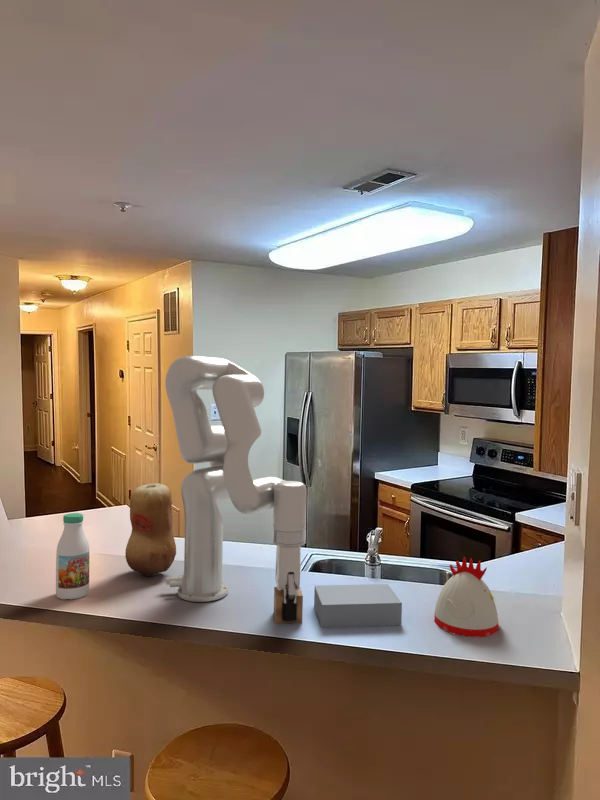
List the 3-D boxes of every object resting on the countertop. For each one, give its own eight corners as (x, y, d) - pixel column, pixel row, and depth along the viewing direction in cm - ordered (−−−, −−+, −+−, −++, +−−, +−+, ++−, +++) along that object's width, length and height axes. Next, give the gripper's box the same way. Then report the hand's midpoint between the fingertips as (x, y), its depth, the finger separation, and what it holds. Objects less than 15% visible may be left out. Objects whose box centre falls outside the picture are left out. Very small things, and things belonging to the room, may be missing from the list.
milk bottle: (48, 597, 139) (49, 516, 138) (72, 587, 146) (72, 509, 145) (73, 602, 136) (73, 519, 135) (95, 591, 143) (96, 513, 142)
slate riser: (321, 627, 125) (322, 604, 125) (314, 606, 137) (314, 585, 136) (401, 625, 127) (401, 602, 127) (387, 604, 139) (387, 584, 138)
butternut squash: (114, 579, 152) (115, 486, 151) (141, 564, 165) (142, 479, 164) (161, 585, 148) (162, 490, 148) (185, 569, 161) (186, 482, 161)
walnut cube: (275, 623, 126) (276, 596, 126) (273, 612, 132) (274, 586, 132) (302, 622, 127) (302, 595, 127) (299, 611, 133) (299, 586, 133)
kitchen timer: (489, 643, 119) (491, 572, 118) (425, 627, 126) (427, 560, 126) (504, 620, 131) (506, 555, 130) (445, 606, 138) (447, 545, 138)
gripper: (270, 526, 137) (269, 600, 138) (275, 547, 120) (274, 631, 121) (301, 526, 138) (299, 599, 139) (310, 546, 121) (309, 630, 122)
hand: (287, 613), depth 130 cm, fingers closed on walnut cube, 6 cm apart
